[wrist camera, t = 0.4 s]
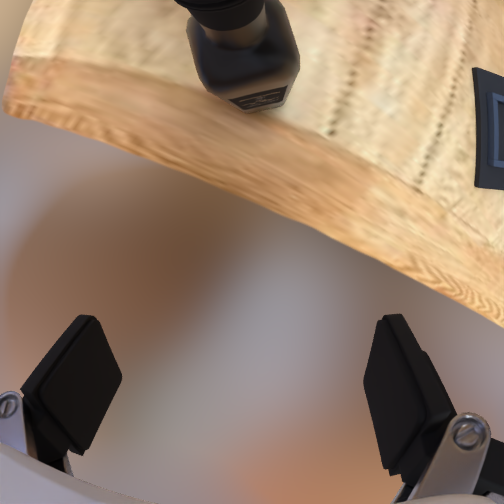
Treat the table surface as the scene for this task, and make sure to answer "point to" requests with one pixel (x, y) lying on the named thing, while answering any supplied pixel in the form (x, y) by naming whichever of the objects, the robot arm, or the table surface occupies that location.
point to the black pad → (489, 129)
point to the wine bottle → (243, 51)
